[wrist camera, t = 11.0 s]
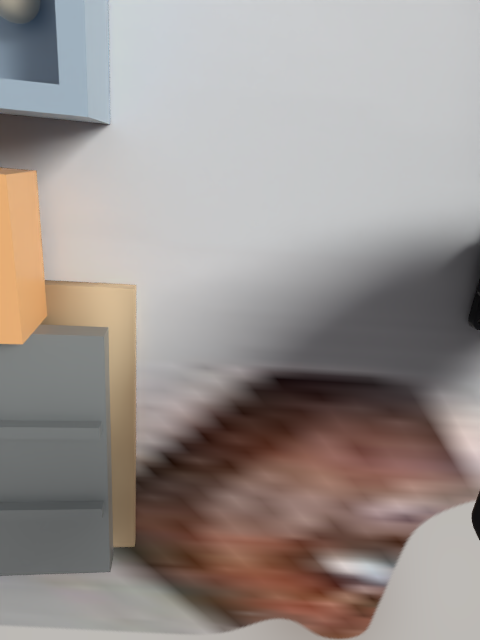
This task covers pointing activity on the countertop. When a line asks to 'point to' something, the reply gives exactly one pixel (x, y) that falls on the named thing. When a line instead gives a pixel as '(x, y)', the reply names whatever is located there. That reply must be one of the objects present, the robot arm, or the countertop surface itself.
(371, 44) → the countertop surface
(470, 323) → the robot arm
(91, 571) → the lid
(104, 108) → the tub
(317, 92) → the countertop surface
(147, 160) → the countertop surface
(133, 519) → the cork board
